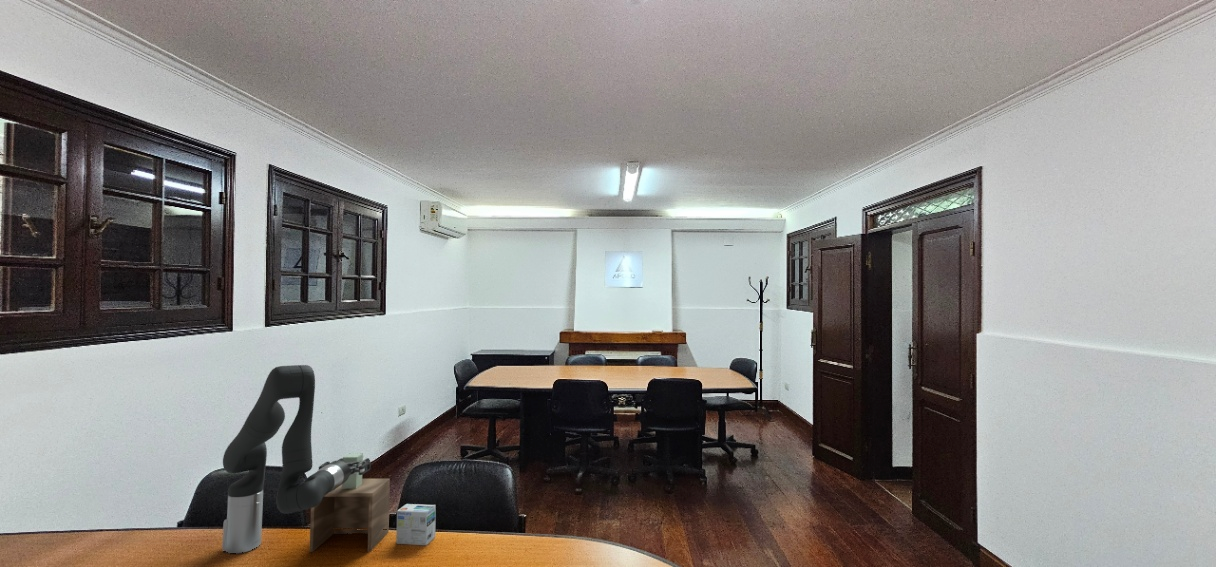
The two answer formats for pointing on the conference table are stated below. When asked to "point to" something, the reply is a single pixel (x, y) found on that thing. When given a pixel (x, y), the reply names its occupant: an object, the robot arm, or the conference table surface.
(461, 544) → the conference table surface
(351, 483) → the block
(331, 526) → the hutch
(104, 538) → the conference table surface
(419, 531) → the light bulb box
